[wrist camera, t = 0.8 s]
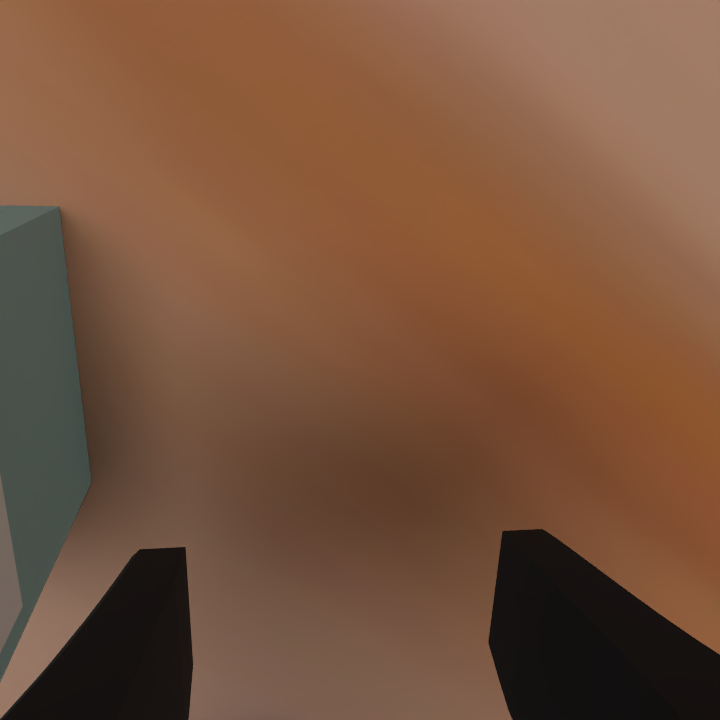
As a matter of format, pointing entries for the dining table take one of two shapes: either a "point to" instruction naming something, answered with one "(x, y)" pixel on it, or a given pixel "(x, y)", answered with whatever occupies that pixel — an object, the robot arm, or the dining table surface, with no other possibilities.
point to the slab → (35, 413)
